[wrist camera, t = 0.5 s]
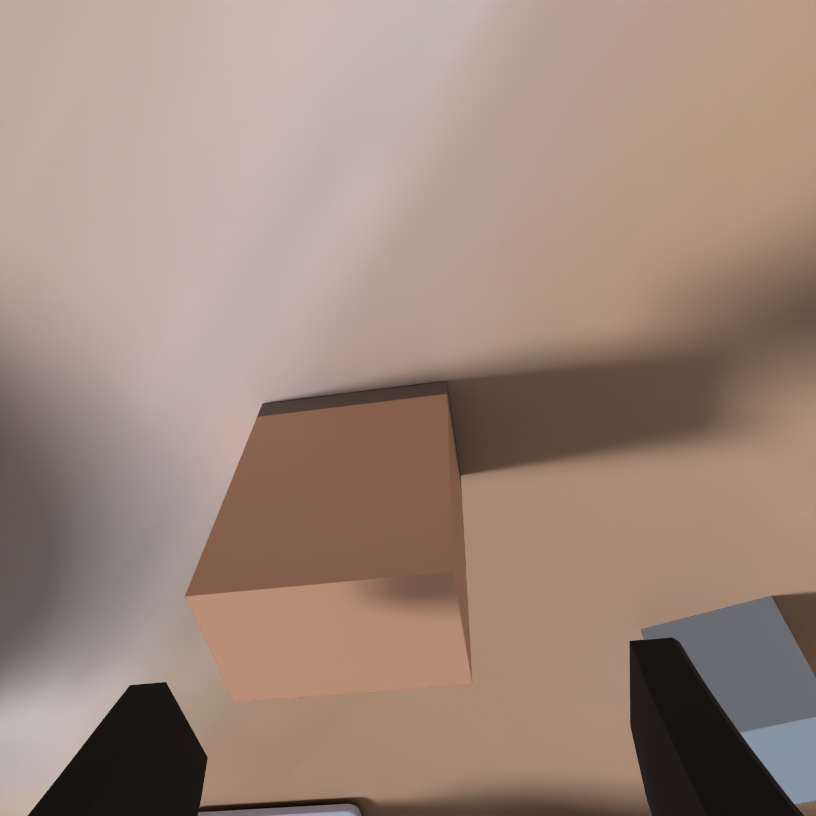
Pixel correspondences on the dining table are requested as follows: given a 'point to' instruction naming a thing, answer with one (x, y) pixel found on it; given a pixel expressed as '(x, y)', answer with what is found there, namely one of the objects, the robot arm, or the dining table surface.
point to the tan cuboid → (340, 551)
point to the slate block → (757, 685)
